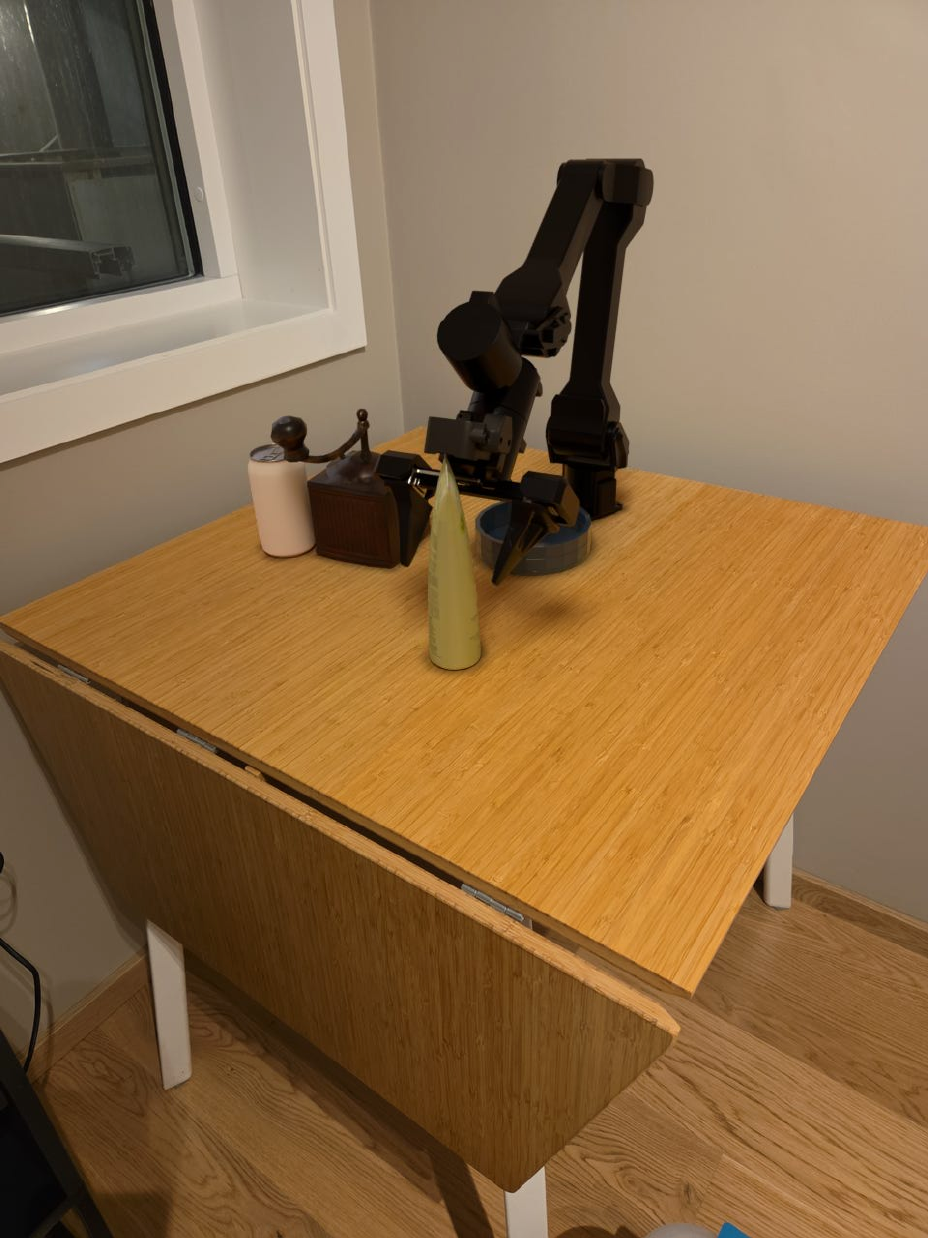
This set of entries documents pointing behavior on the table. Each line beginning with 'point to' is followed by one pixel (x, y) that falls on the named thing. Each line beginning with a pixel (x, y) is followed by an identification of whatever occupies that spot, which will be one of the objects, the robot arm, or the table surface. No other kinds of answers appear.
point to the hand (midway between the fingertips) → (448, 575)
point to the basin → (545, 555)
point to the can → (281, 502)
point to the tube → (451, 581)
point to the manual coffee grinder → (346, 497)
